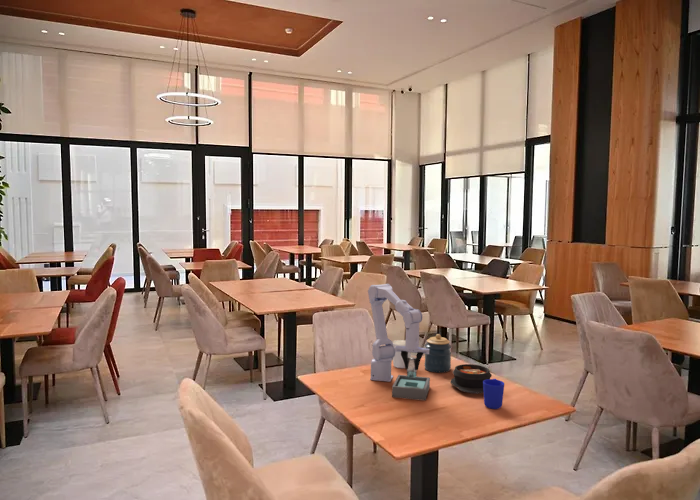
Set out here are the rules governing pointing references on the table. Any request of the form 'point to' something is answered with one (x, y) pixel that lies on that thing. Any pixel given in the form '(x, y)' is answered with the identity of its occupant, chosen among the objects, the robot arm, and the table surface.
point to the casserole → (470, 378)
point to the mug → (493, 393)
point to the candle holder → (399, 354)
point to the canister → (438, 354)
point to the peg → (411, 367)
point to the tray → (409, 390)
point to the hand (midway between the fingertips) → (411, 368)
